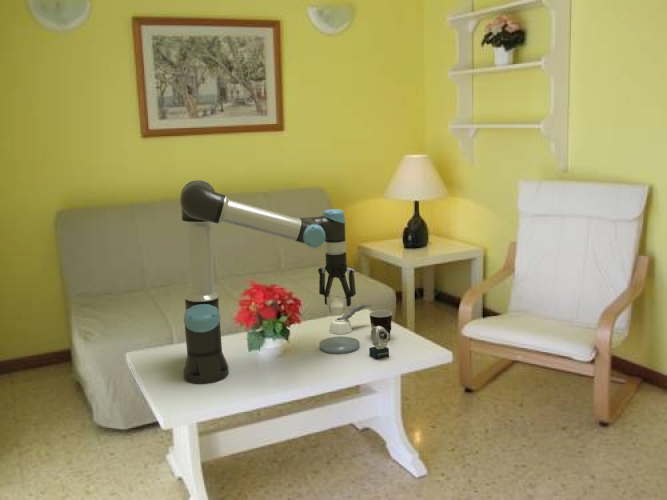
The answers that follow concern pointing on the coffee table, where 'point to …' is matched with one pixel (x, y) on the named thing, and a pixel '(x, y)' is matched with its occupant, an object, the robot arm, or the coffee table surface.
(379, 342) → the watch
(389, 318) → the coffee mug
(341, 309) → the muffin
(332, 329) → the inkwell
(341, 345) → the plate
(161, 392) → the coffee table surface
